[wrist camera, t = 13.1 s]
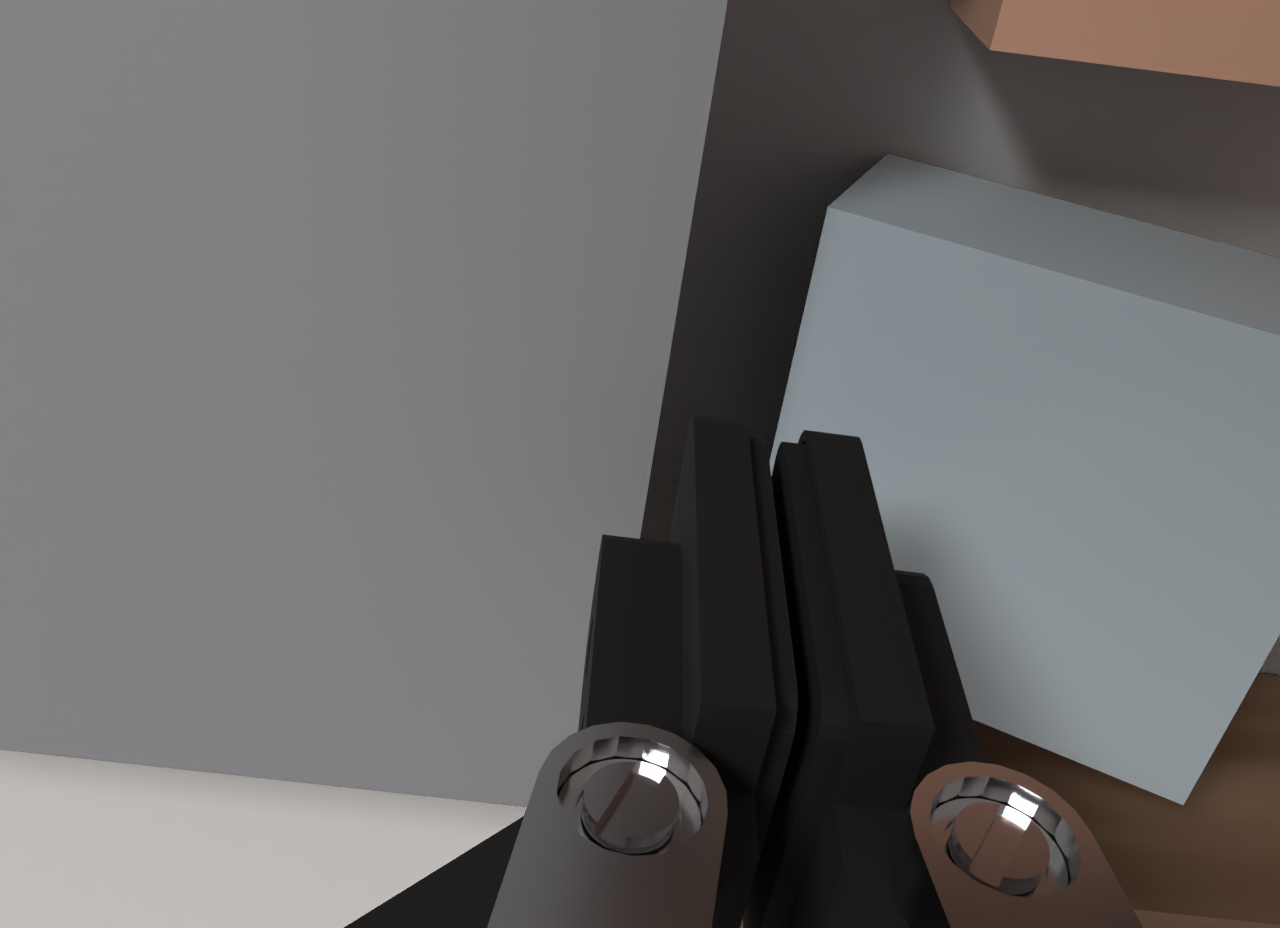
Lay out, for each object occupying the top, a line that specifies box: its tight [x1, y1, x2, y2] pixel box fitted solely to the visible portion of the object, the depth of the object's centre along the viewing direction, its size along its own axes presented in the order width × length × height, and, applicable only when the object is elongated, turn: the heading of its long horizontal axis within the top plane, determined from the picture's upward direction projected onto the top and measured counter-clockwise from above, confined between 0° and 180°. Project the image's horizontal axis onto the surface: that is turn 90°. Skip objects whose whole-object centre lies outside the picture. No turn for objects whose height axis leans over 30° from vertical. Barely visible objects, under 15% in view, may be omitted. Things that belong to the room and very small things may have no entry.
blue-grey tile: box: [769, 154, 1280, 805], centre depth 15 cm, size 6×6×2 cm
